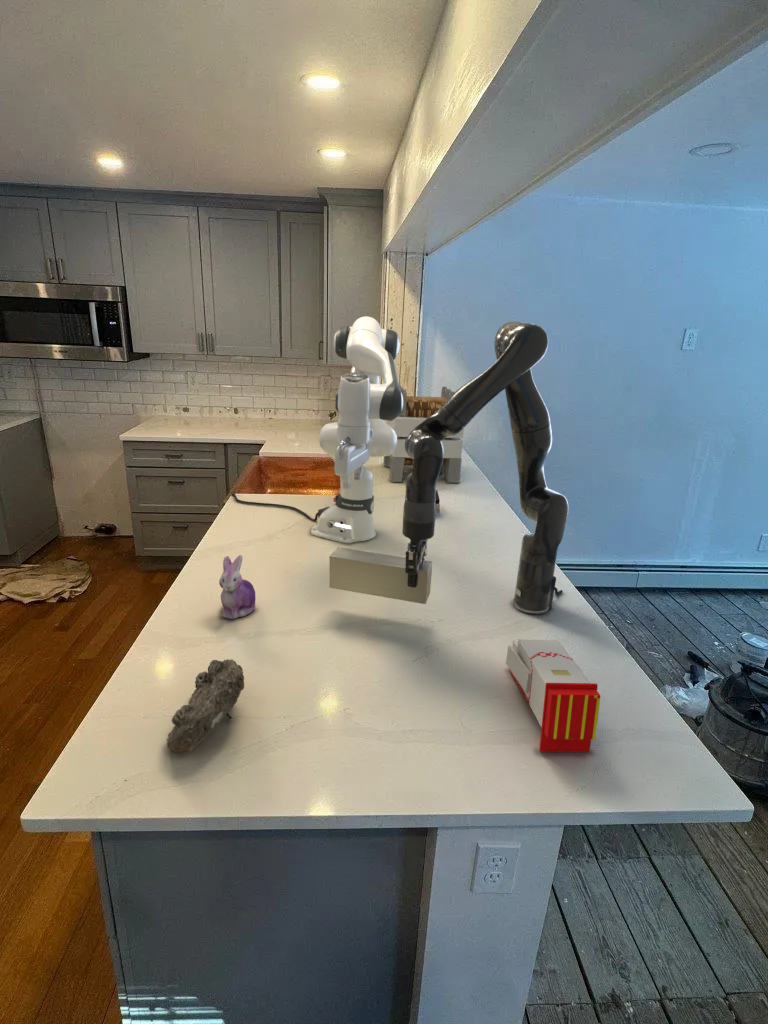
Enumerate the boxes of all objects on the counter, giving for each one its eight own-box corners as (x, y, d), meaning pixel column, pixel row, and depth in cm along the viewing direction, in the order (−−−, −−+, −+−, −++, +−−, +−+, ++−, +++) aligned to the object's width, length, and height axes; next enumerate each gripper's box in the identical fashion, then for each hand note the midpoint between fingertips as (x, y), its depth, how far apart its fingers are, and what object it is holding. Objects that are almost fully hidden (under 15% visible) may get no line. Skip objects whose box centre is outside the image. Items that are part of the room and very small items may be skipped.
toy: (554, 622, 128) (610, 691, 98) (548, 677, 130) (601, 759, 101) (501, 621, 127) (541, 690, 98) (496, 676, 130) (534, 758, 101)
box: (329, 587, 142) (329, 556, 139) (337, 577, 148) (337, 547, 145) (425, 604, 136) (427, 571, 133) (430, 593, 142) (432, 561, 139)
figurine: (224, 623, 139) (221, 568, 134) (215, 604, 148) (212, 552, 142) (262, 616, 143) (260, 562, 138) (251, 598, 152) (249, 546, 147)
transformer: (382, 463, 289) (386, 382, 275) (445, 464, 293) (451, 384, 279) (390, 482, 257) (394, 392, 243) (460, 483, 261) (468, 394, 247)
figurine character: (440, 522, 216) (436, 505, 230) (442, 504, 213) (438, 488, 226) (422, 521, 216) (419, 504, 229) (424, 503, 213) (421, 487, 226)
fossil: (192, 660, 117) (244, 628, 112) (224, 691, 120) (276, 661, 115) (142, 746, 98) (202, 712, 93) (182, 779, 101) (242, 748, 96)
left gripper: (351, 443, 143) (350, 495, 148) (375, 429, 162) (373, 476, 166) (328, 440, 145) (328, 492, 149) (354, 427, 164) (353, 474, 168)
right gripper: (428, 529, 125) (423, 596, 131) (440, 508, 138) (435, 571, 144) (395, 524, 127) (392, 591, 133) (410, 504, 140) (407, 566, 146)
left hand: (352, 483), depth 158 cm, fingers open, 8 cm apart
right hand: (415, 580), depth 138 cm, fingers closed on box, 6 cm apart
